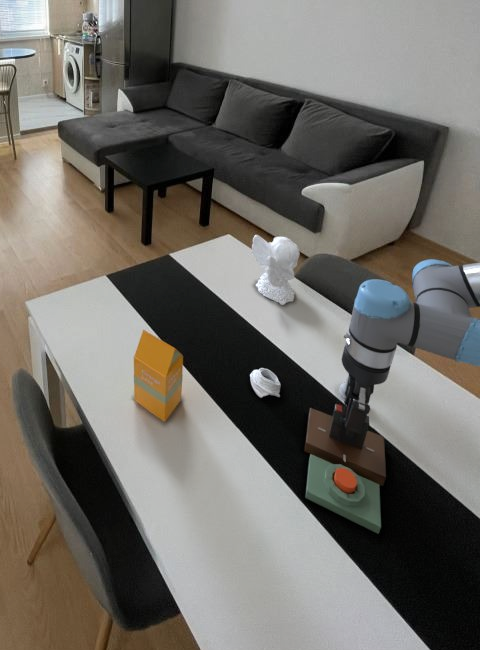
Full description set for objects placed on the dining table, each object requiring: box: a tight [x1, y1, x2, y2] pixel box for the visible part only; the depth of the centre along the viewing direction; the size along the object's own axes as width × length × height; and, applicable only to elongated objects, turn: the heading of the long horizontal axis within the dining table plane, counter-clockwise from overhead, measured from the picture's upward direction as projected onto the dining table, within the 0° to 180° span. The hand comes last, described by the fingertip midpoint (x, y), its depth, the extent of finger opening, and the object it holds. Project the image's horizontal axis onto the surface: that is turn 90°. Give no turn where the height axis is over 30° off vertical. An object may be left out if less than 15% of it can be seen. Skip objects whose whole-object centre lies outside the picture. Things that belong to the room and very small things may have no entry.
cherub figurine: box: [251, 234, 301, 306], centre depth 132 cm, size 13×12×20 cm
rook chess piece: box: [338, 371, 349, 400], centre depth 101 cm, size 4×4×8 cm
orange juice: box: [133, 329, 184, 423], centre depth 101 cm, size 8×9×20 cm
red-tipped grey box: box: [329, 403, 370, 450], centre depth 89 cm, size 6×2×8 cm, turn 60°
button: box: [334, 468, 357, 494], centre depth 82 cm, size 4×4×2 cm
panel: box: [304, 407, 387, 487], centre depth 91 cm, size 14×10×3 cm
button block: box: [305, 454, 382, 535], centre depth 83 cm, size 12×8×4 cm, turn 59°
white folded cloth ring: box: [249, 367, 282, 399], centre depth 106 cm, size 8×7×5 cm
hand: (345, 436), depth 90 cm, fingers closed on red-tipped grey box, 2 cm apart
